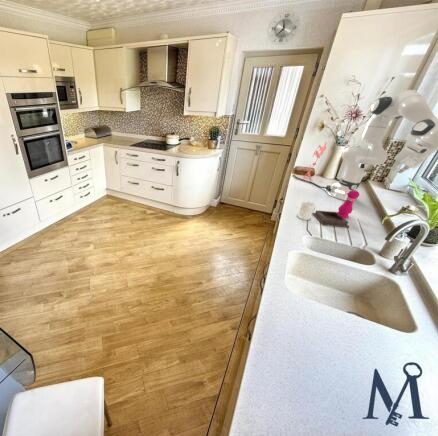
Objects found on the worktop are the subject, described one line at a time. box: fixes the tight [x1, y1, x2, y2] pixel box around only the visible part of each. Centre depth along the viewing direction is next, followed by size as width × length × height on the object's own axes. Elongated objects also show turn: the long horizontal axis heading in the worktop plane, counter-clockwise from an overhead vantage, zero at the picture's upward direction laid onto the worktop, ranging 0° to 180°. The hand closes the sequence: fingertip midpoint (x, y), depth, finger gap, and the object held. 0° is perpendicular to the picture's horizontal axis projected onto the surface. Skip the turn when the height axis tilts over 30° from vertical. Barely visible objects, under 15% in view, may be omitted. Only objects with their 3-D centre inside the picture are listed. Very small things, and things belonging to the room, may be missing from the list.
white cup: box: [297, 200, 317, 221], centre depth 152 cm, size 8×8×10 cm
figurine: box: [302, 141, 328, 182], centre depth 212 cm, size 15×26×35 cm, turn 148°
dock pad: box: [311, 209, 350, 228], centre depth 152 cm, size 15×15×4 cm
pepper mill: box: [336, 188, 360, 219], centre depth 154 cm, size 7×7×20 cm
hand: (395, 171), depth 131 cm, fingers open, 8 cm apart
